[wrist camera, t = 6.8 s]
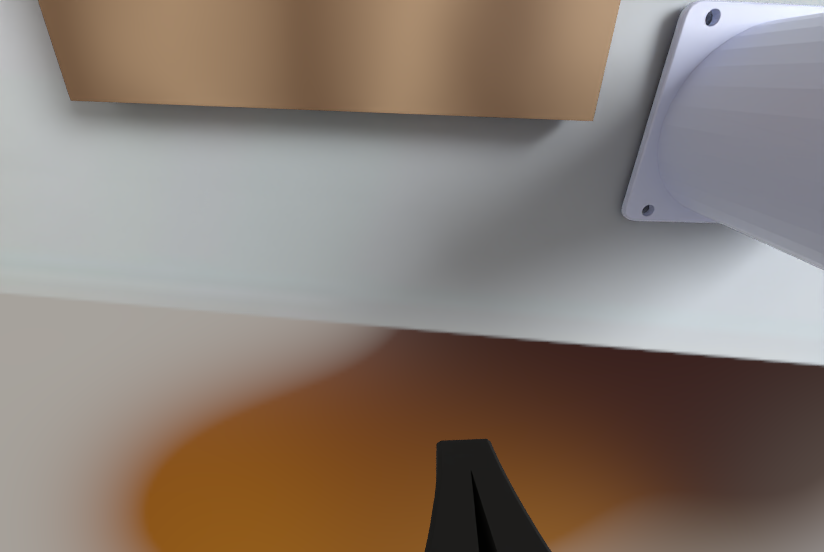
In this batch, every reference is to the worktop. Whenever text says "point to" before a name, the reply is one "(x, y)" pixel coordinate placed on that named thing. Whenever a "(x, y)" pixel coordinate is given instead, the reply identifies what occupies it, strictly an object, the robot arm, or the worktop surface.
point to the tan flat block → (339, 54)
